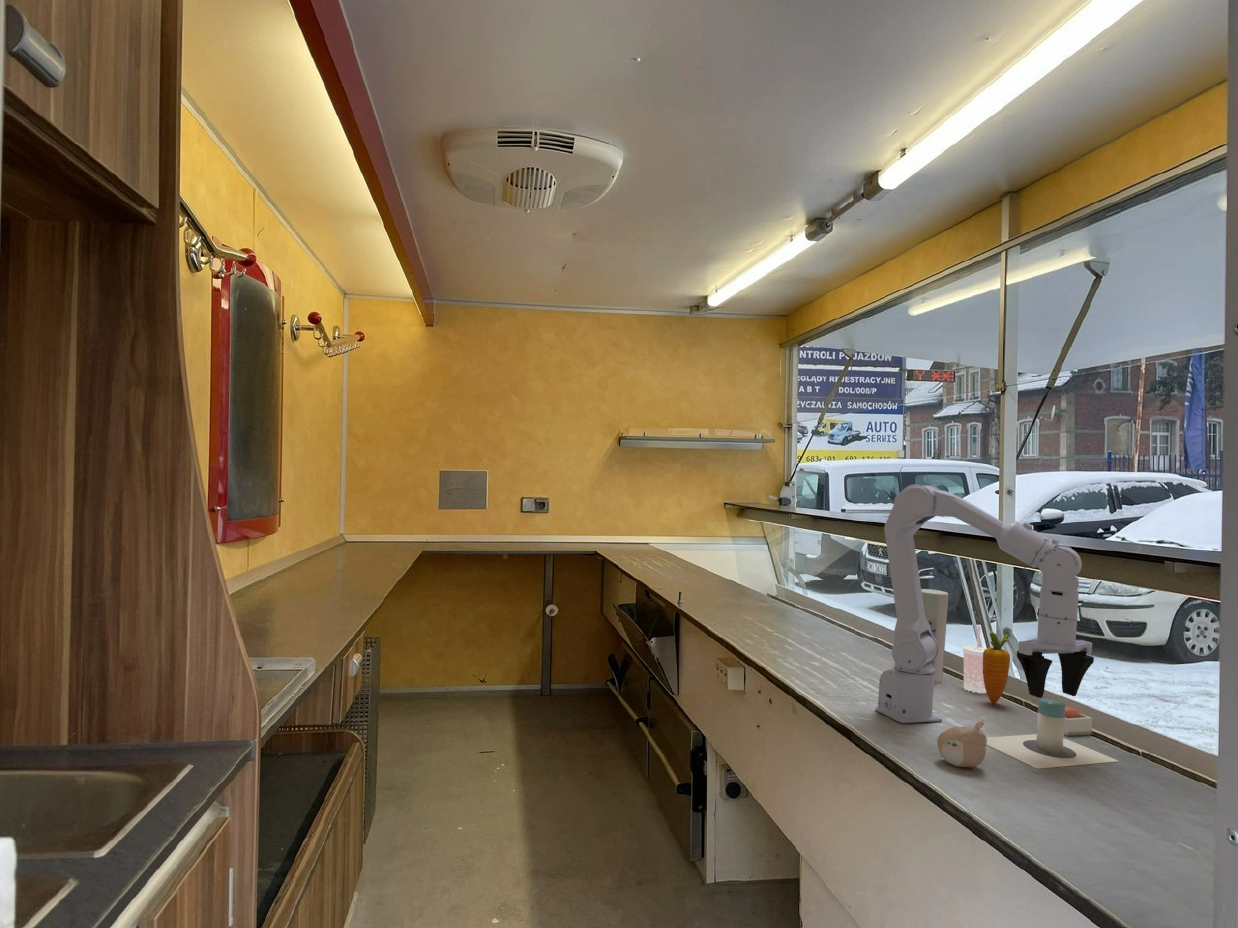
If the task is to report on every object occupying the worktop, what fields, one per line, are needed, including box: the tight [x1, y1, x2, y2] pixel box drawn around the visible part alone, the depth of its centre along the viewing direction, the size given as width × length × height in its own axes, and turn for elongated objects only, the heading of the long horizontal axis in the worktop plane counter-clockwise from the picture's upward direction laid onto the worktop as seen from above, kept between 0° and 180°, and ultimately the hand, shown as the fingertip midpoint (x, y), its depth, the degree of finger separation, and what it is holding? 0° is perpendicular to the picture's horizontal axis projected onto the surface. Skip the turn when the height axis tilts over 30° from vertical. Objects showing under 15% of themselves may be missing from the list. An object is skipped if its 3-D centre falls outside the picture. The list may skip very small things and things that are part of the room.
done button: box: [1065, 704, 1080, 719], centre depth 140 cm, size 4×4×2 cm
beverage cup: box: [962, 625, 988, 694], centre depth 164 cm, size 6×6×14 cm
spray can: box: [921, 588, 949, 684], centre depth 171 cm, size 6×6×20 cm
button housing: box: [1064, 712, 1093, 737], centre depth 140 cm, size 6×6×3 cm
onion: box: [937, 720, 987, 769], centre depth 119 cm, size 7×6×8 cm
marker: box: [1036, 698, 1066, 753], centre depth 129 cm, size 4×4×8 cm
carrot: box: [983, 630, 1011, 705], centre depth 154 cm, size 5×5×15 cm
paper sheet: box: [986, 733, 1120, 770], centre depth 128 cm, size 18×13×1 cm
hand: (1052, 695), depth 129 cm, fingers open, 7 cm apart
